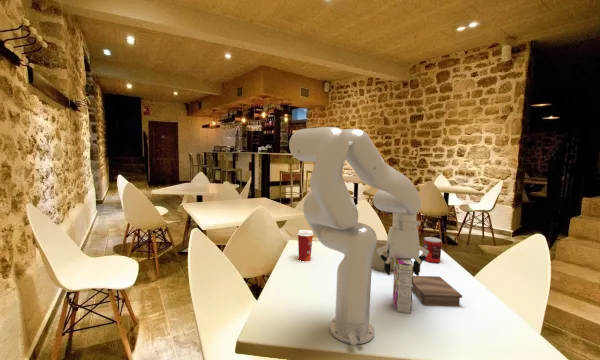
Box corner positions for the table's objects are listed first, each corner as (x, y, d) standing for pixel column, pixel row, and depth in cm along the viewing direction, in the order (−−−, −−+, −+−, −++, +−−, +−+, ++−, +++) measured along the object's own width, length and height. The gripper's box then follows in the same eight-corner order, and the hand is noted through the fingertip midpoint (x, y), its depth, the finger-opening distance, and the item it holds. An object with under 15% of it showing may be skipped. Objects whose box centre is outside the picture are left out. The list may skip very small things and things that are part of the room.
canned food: (424, 257, 151) (425, 236, 150) (441, 260, 147) (443, 238, 146) (420, 261, 145) (422, 239, 144) (438, 264, 140) (439, 242, 140)
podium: (461, 306, 100) (462, 295, 100) (423, 305, 100) (424, 294, 100) (438, 286, 116) (439, 276, 116) (406, 285, 116) (406, 275, 116)
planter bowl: (407, 275, 126) (408, 250, 125) (369, 274, 127) (370, 249, 126) (396, 262, 142) (397, 240, 142) (362, 260, 143) (363, 239, 142)
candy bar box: (391, 296, 107) (394, 252, 105) (406, 298, 106) (408, 253, 104) (395, 312, 96) (398, 263, 94) (411, 314, 95) (414, 264, 93)
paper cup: (312, 262, 138) (313, 233, 137) (296, 262, 138) (297, 233, 137) (312, 257, 146) (313, 229, 145) (296, 256, 146) (297, 229, 145)
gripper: (424, 222, 103) (422, 269, 104) (375, 221, 102) (373, 269, 104) (434, 227, 95) (432, 278, 97) (381, 227, 95) (379, 278, 96)
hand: (401, 273), depth 100 cm, fingers open, 9 cm apart
